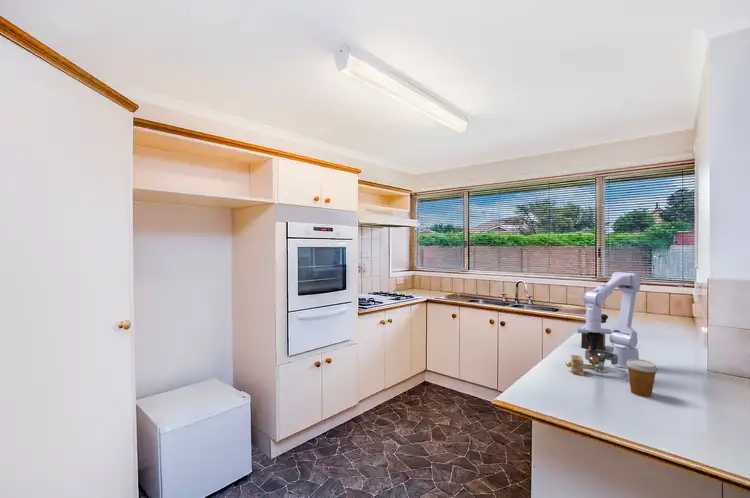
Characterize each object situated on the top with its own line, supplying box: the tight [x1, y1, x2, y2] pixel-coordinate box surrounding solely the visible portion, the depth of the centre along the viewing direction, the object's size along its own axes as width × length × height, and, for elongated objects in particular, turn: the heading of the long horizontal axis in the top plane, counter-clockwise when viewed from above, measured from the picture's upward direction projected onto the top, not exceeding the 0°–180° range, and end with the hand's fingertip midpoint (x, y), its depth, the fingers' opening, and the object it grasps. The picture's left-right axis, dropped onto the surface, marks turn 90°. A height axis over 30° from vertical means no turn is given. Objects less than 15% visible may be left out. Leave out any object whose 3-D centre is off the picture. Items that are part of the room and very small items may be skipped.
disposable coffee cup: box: [626, 359, 659, 398], centre depth 133 cm, size 10×10×12 cm
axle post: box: [594, 361, 610, 374], centre depth 158 cm, size 6×6×4 cm
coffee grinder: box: [580, 313, 609, 351], centre depth 193 cm, size 16×11×18 cm
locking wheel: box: [584, 346, 618, 366], centre depth 158 cm, size 10×12×5 cm
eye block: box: [570, 354, 584, 376], centre depth 155 cm, size 4×7×6 cm, turn 156°
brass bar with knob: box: [565, 356, 599, 371], centre depth 154 cm, size 13×4×6 cm, turn 66°
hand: (592, 349), depth 154 cm, fingers closed
